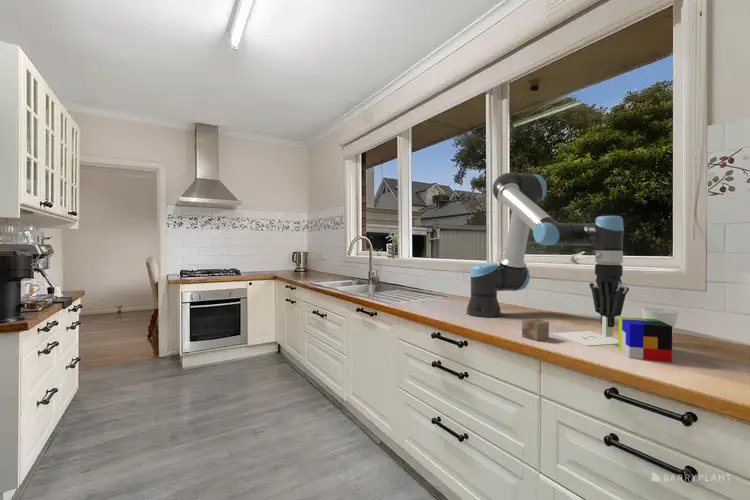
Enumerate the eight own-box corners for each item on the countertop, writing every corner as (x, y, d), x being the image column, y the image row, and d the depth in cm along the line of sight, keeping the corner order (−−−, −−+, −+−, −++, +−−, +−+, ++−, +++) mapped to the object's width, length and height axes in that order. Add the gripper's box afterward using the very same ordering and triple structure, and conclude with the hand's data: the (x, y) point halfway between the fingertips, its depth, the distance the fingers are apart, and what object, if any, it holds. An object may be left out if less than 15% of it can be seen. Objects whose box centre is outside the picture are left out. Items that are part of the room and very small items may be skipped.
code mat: (552, 333, 130) (552, 333, 130) (589, 331, 134) (589, 330, 134) (587, 345, 115) (587, 345, 115) (628, 343, 118) (628, 342, 118)
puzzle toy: (629, 358, 103) (629, 323, 102) (618, 348, 112) (618, 316, 112) (671, 362, 99) (672, 326, 99) (656, 352, 109) (657, 319, 109)
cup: (669, 349, 112) (669, 313, 111) (633, 341, 120) (634, 308, 120) (684, 345, 116) (685, 311, 116) (649, 337, 125) (650, 306, 125)
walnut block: (522, 337, 125) (522, 320, 125) (533, 335, 128) (533, 318, 128) (536, 341, 120) (537, 323, 120) (548, 339, 123) (548, 321, 123)
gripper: (583, 262, 122) (581, 331, 122) (616, 265, 109) (615, 342, 110) (601, 262, 123) (600, 330, 124) (636, 264, 111) (635, 341, 111)
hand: (607, 336), depth 117 cm, fingers closed
